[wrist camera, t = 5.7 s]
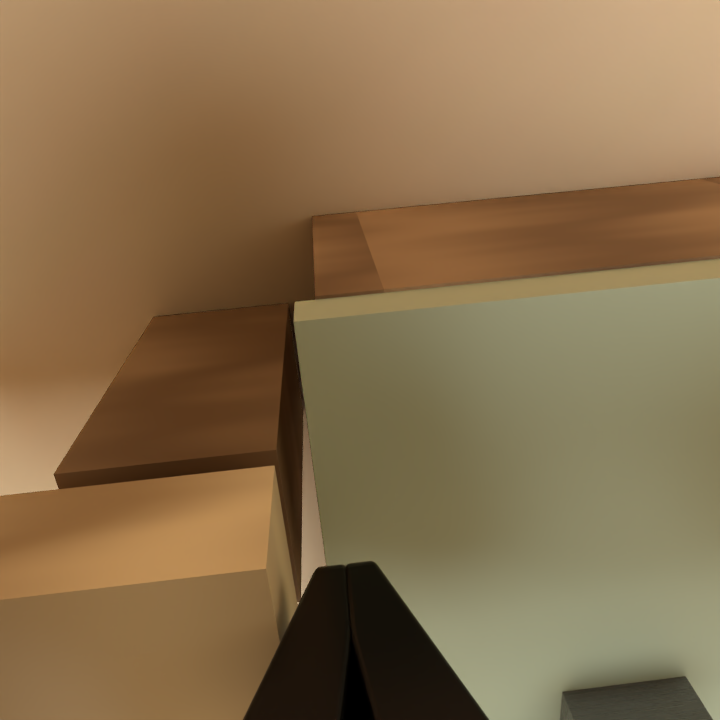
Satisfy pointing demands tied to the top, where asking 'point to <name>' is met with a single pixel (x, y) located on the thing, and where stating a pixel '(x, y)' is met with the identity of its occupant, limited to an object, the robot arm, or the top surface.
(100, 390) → the top surface
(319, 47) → the top surface
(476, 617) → the lid
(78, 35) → the top surface
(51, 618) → the tan beveled box
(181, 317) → the toolbox
